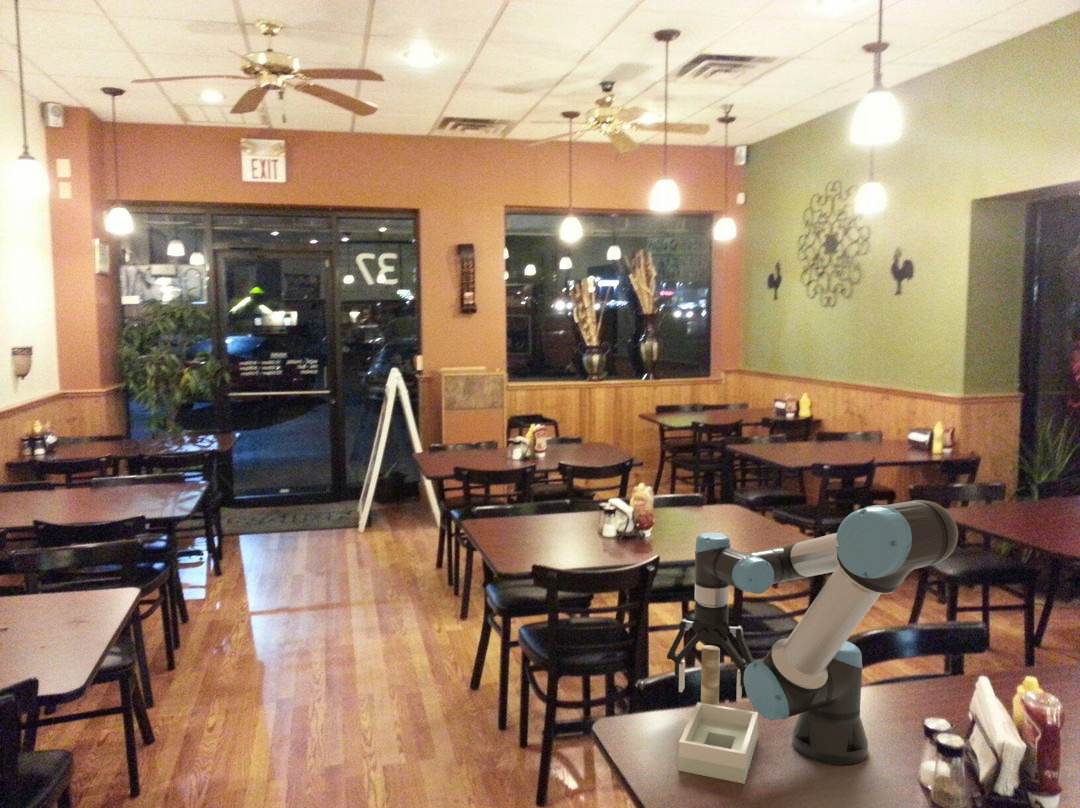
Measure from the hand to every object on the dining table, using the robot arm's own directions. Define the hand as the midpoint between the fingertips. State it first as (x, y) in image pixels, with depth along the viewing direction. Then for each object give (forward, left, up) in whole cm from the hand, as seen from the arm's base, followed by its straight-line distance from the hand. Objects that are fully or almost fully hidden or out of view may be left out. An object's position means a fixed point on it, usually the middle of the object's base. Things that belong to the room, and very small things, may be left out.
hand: (709, 694), depth 188 cm
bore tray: (-5, +16, -5) cm, 18 cm away
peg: (0, 0, -5) cm, 5 cm away
